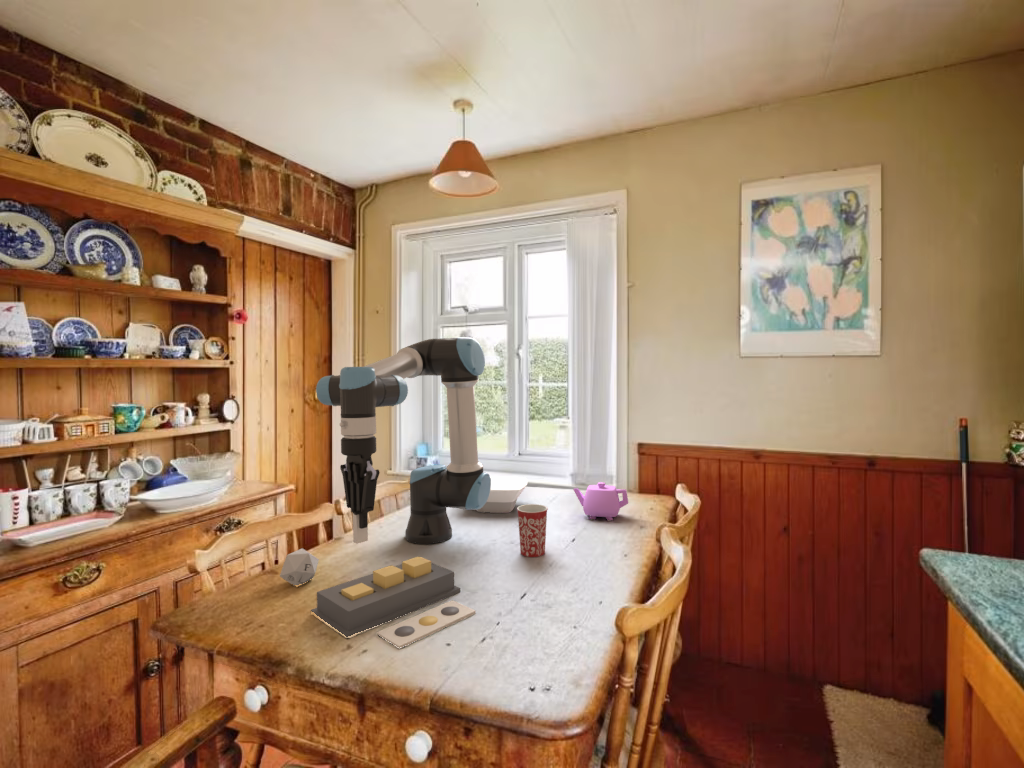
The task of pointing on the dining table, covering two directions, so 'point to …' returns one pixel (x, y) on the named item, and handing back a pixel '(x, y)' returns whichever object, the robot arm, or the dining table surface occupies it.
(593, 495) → the teapot
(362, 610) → the board
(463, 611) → the card
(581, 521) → the dining table surface
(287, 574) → the die
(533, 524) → the mug
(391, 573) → the button
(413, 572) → the button
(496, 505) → the bowl
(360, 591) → the button
